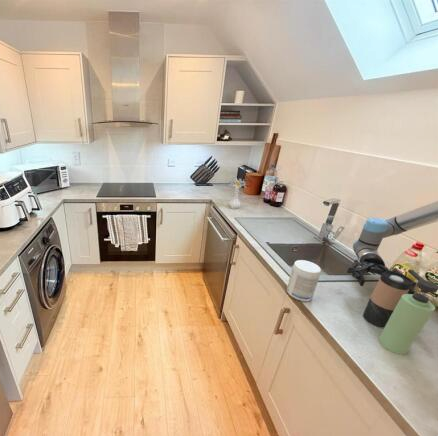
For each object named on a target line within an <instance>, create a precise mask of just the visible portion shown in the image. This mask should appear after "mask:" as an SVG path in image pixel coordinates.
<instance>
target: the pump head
mask: <svg viewBox="0 0 438 436" xmlns="http://www.w3.org/2000/svg"><path fill="white" fill-rule="evenodd" d="M407 272H408V273H409V274H410V275H411V276H412V277H413V278H414V279H415V280H417V282H416V283H417V284H416V287H417V288H418V289H420V293H421V294H424V295H427V294H429V293H431V294H436V293H438V285H437V284H436V283H434V282H432V281H429V280H425V279H424V278H423V277H422V276H421V275H419V274H418V273H417V272H416V271H415V270H414V269H411V268H409V269H408V271H407Z"/></svg>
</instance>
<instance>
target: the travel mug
mask: <svg viewBox="0 0 438 436" xmlns="http://www.w3.org/2000/svg"><path fill="white" fill-rule="evenodd" d="M400 273H401V272H400ZM400 273H397V272H393V271H386V272H384V273H382V275H380V277H379V279H378V281H377V283H376V285H375V287H374V289H373V291H372V293H371V296H369V299H368V301H367V304H366V306H365V309H364V311H363V314H362V318H363V319H364V320H365V321H366V322H367V323H368V324H370V325H373V326H375V327H377V328H381V329H384V327H385V325H386V324H387V322H388V320H389V318H390V316H391V315H392V313H393V311H394V309H395V307H396V306H397V304H398V302H399V300H400V298H401V297H402V295H403V294H407V293H408V291H409V289H410V287H411V285H412V284H413V281H414V280H413V279H411V278H410V277H408V276H407V275H405V274H404V273H402V274H400ZM403 274H404V275H403ZM412 280H413V281H412Z"/></svg>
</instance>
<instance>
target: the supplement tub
mask: <svg viewBox="0 0 438 436" xmlns="http://www.w3.org/2000/svg"><path fill="white" fill-rule="evenodd" d="M321 271H322V269H321V267H320V266H319V265H318V264H317V263H314V262H312V261H309V260H304V259H297V260H295V261H294V264H293V265H292V268H291V271H290V272H291V273H290V276H289V279H288V282H287V287H286V293H287V294H288V295H289V296H290V297H291V298H293V299H295V300H297V301H300V302H310V301H311V300H312V299H313V297H314V295H315V291H316V288H317V285H318V284H319V283H318V282H319V280H320V276H321Z"/></svg>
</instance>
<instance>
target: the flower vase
mask: <svg viewBox="0 0 438 436" xmlns="http://www.w3.org/2000/svg"><path fill="white" fill-rule="evenodd" d="M228 183H229V185H228V187H229V189H231V188H232V187H234V194H233V198H232V199H231V200H230V201H229V203H228V205H229V207H230V209H233V210H238V209H239V208H240V207H241V205H242V203H241V202H240V200H239V192H240V190H241V189H240V188H242V187H244V188H245V189H247V186H246V181H245V179H243V180H242V178H239V179H238V178H237V177H235V178H232V179H231V180H230V181H229V182H228Z"/></svg>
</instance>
